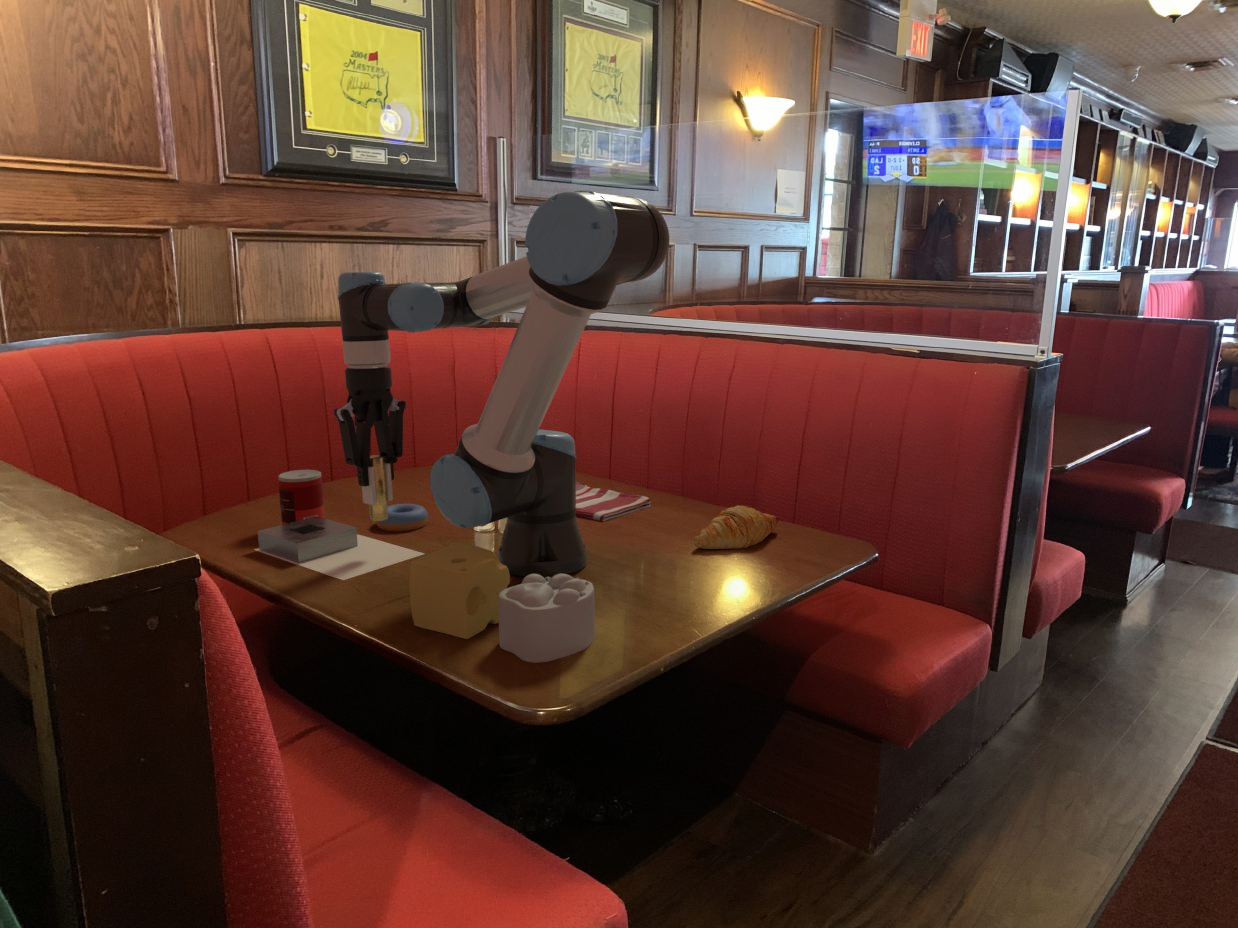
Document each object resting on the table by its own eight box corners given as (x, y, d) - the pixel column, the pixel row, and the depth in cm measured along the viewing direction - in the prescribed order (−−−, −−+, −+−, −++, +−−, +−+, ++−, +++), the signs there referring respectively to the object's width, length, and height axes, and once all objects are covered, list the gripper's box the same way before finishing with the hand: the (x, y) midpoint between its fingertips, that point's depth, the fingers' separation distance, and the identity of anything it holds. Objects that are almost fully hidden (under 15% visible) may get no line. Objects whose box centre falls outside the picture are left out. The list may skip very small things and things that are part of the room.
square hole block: (357, 546, 161) (356, 527, 160) (298, 563, 151) (297, 543, 151) (317, 534, 168) (316, 516, 167) (259, 549, 159) (257, 530, 158)
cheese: (513, 616, 130) (512, 551, 128) (465, 643, 121) (462, 572, 119) (458, 603, 135) (456, 539, 133) (408, 627, 126) (404, 559, 124)
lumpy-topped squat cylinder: (490, 642, 121) (488, 581, 119) (566, 617, 129) (565, 561, 127) (535, 667, 113) (534, 603, 111) (613, 640, 122) (613, 579, 120)
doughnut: (418, 515, 181) (415, 494, 180) (437, 530, 173) (434, 508, 172) (370, 527, 176) (367, 505, 175) (387, 543, 168) (383, 520, 167)
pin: (391, 518, 156) (387, 456, 153) (377, 522, 153) (373, 459, 151) (380, 515, 158) (376, 454, 155) (366, 519, 155) (362, 457, 153)
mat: (425, 555, 157) (425, 553, 157) (343, 582, 143) (343, 580, 143) (335, 529, 172) (335, 527, 172) (253, 551, 159) (253, 549, 159)
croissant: (705, 574, 158) (721, 541, 154) (671, 537, 164) (685, 504, 159) (784, 548, 171) (801, 517, 167) (750, 515, 177) (765, 484, 172)
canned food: (331, 524, 176) (327, 469, 173) (314, 536, 168) (310, 479, 166) (294, 523, 176) (290, 468, 174) (275, 534, 169) (270, 478, 166)
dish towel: (572, 490, 205) (572, 478, 204) (653, 507, 190) (653, 495, 190) (519, 505, 192) (519, 493, 192) (601, 524, 178) (601, 512, 177)
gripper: (391, 361, 158) (400, 490, 163) (313, 369, 146) (325, 508, 151) (419, 362, 154) (427, 495, 159) (341, 371, 142) (353, 514, 146)
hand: (378, 501), depth 155 cm, fingers closed on pin, 3 cm apart
